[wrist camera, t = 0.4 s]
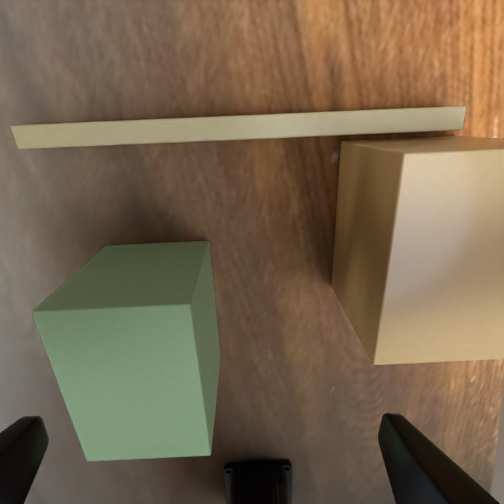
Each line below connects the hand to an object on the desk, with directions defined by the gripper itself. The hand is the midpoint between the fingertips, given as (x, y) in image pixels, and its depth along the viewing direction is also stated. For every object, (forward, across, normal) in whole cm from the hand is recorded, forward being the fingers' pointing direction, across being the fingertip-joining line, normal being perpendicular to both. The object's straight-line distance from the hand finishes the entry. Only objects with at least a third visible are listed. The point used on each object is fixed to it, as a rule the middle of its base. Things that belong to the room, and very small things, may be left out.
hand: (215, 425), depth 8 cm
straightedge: (+14, 0, -7) cm, 16 cm away
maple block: (+14, -10, -2) cm, 17 cm away
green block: (+14, +5, +5) cm, 16 cm away
